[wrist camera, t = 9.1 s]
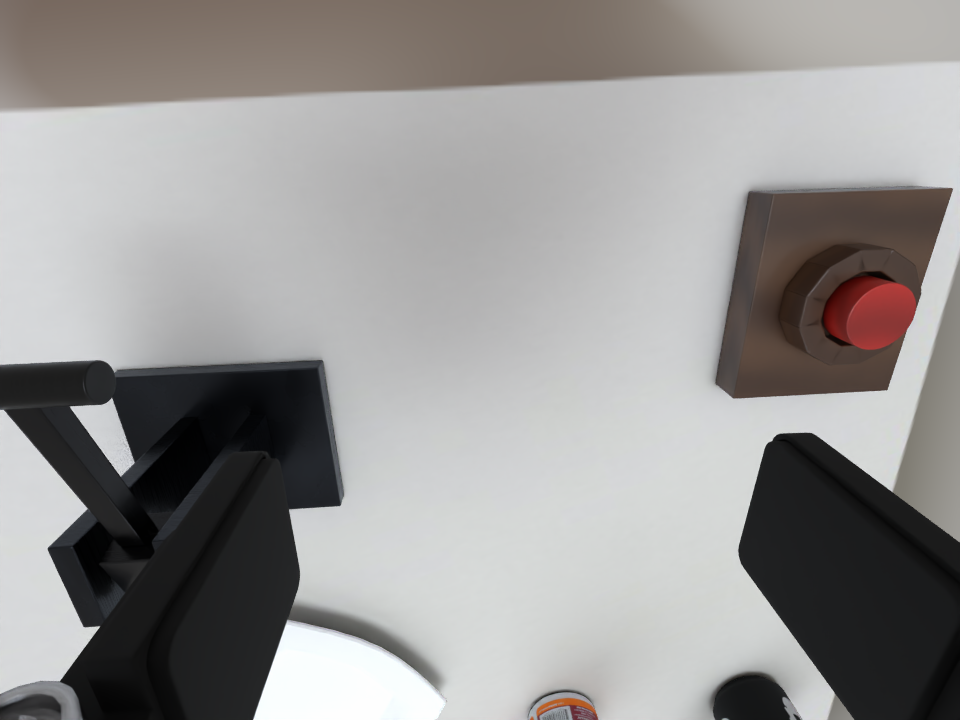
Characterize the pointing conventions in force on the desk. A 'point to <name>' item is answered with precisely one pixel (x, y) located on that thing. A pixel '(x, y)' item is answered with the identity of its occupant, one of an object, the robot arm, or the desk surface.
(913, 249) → the control block
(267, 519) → the robot arm
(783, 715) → the beverage can
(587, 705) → the pill bottle
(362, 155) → the desk surface
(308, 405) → the bracket
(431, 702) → the plate
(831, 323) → the button
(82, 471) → the lever
